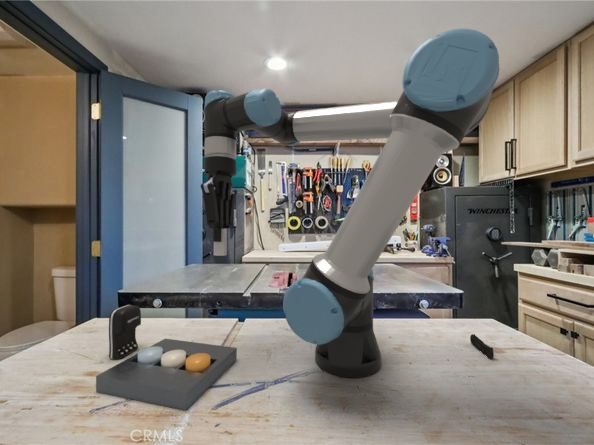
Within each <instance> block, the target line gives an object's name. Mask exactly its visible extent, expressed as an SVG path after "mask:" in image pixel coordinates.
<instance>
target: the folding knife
mask: <svg viewBox="0 0 594 445" xmlns="http://www.w3.org/2000/svg"><path fill="white" fill-rule="evenodd" d="M469 338H470V340H469V341H470V344H471V345H472V346H473V347H474V348H475V349H477V350H478V351H479V352H480V351H481V352H482V353H481V352H480V353H481V354H483V355H484V356H485V355H486V356H487V357H488V358H487V357H486V356H485V357H486V358H487V359H490V360H492V359H494V356H495V353H494V348H493V347H491V346H490V345H488V344H486V343H485V342H484V341H482V339H480V338H479V337H478V336H476V334H475V333H473V334H471V335H470V337H469Z"/></svg>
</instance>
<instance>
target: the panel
mask: <svg viewBox="0 0 594 445" xmlns="http://www.w3.org/2000/svg"><path fill="white" fill-rule="evenodd" d="M155 346H157V347H162V348H163V354H164V353H166V352H168V351H172V350H184V351H185V352H186V359H187V358H188V357H189V356H191V355H193V354H197V353H207V354H209V355H210V367H209V368H207V369H206V370H205V371H204V372H203V373H197V372H191V371H186V362H185V363H183V364H182V365H180V366H179V367H178V368H176V369H173V368H167V367H161V359H160V360H158V361H156V362H155V363H153V364H152V365H149V364H143V363H138V353H136V354H134V355H132V356H131V357H128V358H126V359H124V360H123V361H121V362H119V363H117V364H115V365H114V366H112V367H110V368H109V369H106V370H104V371H103V372H100V373H99V374H97V375H96V377H95V392H96V393H100V394H104V395H109V396H114V397H118V398H123V399H129V400H132V401H139V402H142V403H143V402H144V403H148V404H153V405H156V406H157V405H158V406H162V407H167V408H172V409H175V410H182V411H188V410H189V409H190V408H191V406H192V405H193V404H194V403H196V402H197V401H198V400H199V398H201V396H203V395H204V393H206V392H207V391H208V390H209V389H210V388H211V387H212V386H213V385H214V384H215V383H216V382H217V381H218V380H219V379H220V378H221V377H222V376H223V375H224V374H225V373H226V372H227V371H228V370H229V369H230V368H231V367H232V366H233V365H234V364H235V363H236V362H237V361H238V360H237V358H238V357H237V353H238V352H237V350H238V349H237V348H238V347H235V346H234V347H232V346H227V345H226V346H225V345H219V344H218V345H217V344H210V343H202V342H196V341H195V342H194V341H188V340H180V339H179V340H178V339H172V338H164V339H162V340H160V341H158V342H156V343H154V344H152V345H150V346H149V347H155Z"/></svg>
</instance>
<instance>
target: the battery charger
mask: <svg viewBox="0 0 594 445" xmlns="http://www.w3.org/2000/svg"><path fill="white" fill-rule="evenodd" d="M141 324H142V313H141V308H140V307H139V306H138V305H132V304H126V305H124V306H120V307H117V308H116V309H113V310H112V311H111V312H110V314H109V319H108V343H109V344H108V345H109V346H108V348H109V349H108V350H109V352H108V353H109V354H108V358H109V359H112V360H113V359H114V360H115V359H122V358H125V357H127V356H128V355H130V354H131V353H133V352H135V351H137V350H138V348H139V346H138V345H139V344H138V342H137V338H136V337H137V336H136V330H137V327H139V326H141Z"/></svg>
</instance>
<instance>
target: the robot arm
mask: <svg viewBox="0 0 594 445" xmlns="http://www.w3.org/2000/svg"><path fill="white" fill-rule="evenodd" d="M499 56H500V55H499V51H498V49H497V46H496V45H495V43H494V41H493V40H492V39H491V38H490V37H489V36H488V35H486V34H485V33H483V32H481V31H478V30H476V29H472V28H471V29H470V28H454V29H453V28H452V29H449V30H446V31H442V32H441V33H439V34H437V35H435V36H432V37H429V39H427V40H425V41H424V42H423V43H422V44H420V45H419V46H418V47H417V48H416V49H415V50H414V51H413V52H412V54H411V55H410V56H409V58H408V60H407V63H406V65H405V67H404V71H403V76H402V82H401V84H402V89H403V91H402V93H401V95H400V97H399V99H398V100H397V99H396V100H388V101H386V100H385V101H378V102H377V101H376V102H370V103H369V102H367V103H362V104H361V103H360V104H352V105H341V106H334V107H333V106H332V107H326V108H325V107H324V108H323V107H322V108H314V109H305V110H298V111H285V110H283V108H282V104H281V102H280V99H279V97H277V95H276V93H275V91H273V90H272V89H270V88H268V87H267V88H260V89H254V90H253V89H252V90H250V91H249V92H246V93H243V94H240V95H236V96H235V95H234V94H233V93H231V92H230V91H226V90H222V89H220V90H212V91H209V92H208V93H207V94H206V96H205V98H204V108H203V114H204V117H203V118H204V157H205V158H204V161H203V162H204V164H203V168H204V170H203V171H204V174H205V175H208V176H207V179H206V180H207V182H205V183H201V184H200V189H201V191H202V194H203V201H204V209H205V216H206V224H207V226H208V228H209V229H213V230H212V231H213V232H212V233H213V238H212V240H213V256H217V257H218V256H219V257H221V256H223V257H224V256H227V255H228V253H227V251H228V247H227V246H228V241H227V240H228V238H227V237H228V229H231V228H232V225H233V220H234V211H235V203H236V198H237V194H238V190H237V189H234V188H233V181H232V177H234V176H235V175H237V161H236V159H237V133H240V132H244V131H249V130H253V131H255V132H257V133H259V134H262V135H264V136H265V137H268V138H270V139H272V140H273V141H276V142H277V143H279V144H281V145H284V146H287V147H294V146H297V145H298V144H299V143H302V142H325V141H349V140H353V141H354V140H374V139H376V140H377V139H387V140H386V142H385V144H384V145H383V148H382V149H381V151H380V153H379V155H378V156H377V158H376V160H375V162H374V164H373V165H372V167H371V169H370V171H369V173H368V174H367V176H366V179H365V180H364V182H363V184H362V186H361V188H360V189H359V191H358V193H357V195H356V197H355V198H354V200H353V203H352V204H351V206H350V207H349V209H348V210H347V213H346V215H345V217H344V218H343V220H342V222H341V224H340V226H339V227H338V229H337V231H336V233H335V235H334V237H333V239H332V240H331V242H330V244H329V246H328V247H327V249H326V251H325V252H323V253H320V254H316V255H315V256H314V257H313V258H312V260H311V262H310V264H309V265H308V267H307V269H306V271H305V273H304V275H303V276H302V278H300V279H296V280H295V281H294V282H293V283H291V284H290V286H288V288H287V289H286V291H285V292H284V295H283V300H282V302H283V303H282V309H283V314H284V315H285V320H286V323H287V325H288V326H289V328H290V329H291V331H292V332H293V333H294V334H295V335H296V336H297V337H298V338H299V339H301V340H303V341H304V342H306V343H308V344H312V345H316V346H315V349H314V350H315V351H314V352H315V353H314V360H315V363H316V365H317V366H318V367H319V368H320V369H321V370H323V371H324V372H326V373H329V374H331V375H335V376H339V377H343V378H344V377H345V378H364V376H365V377H368V375H369V376H372V375H375V374H376V373H377V372H379V370H381V368H382V352H381V350H380V347H379V343H378V340H377V337H376V334H375V330H374V280H375V278H374V273H373V271H374V270H373V268H374V266H376V263H377V261H378V259H379V258H380V256H381V255H382V254H383V251H384V250H385V249H386V247H387V245H388V244H389V243H390V240H391V238H392V236H393V235H394V234H395V232H396V231H397V229H398V227H399V225H400V224H401V222H402V220H403V219H404V217H405V215H406V214H407V213H408V210H409V209H410V207H411V205H412V204H413V203H414V200H415V199H416V197H417V196H418V194H419V192H420V191H421V189H422V187H423V186H424V185H425V182H426V181H427V179H428V177H429V176H430V174H431V173H432V171H433V169H434V168H435V165H436V164H437V163H438V161H439V160H440V158H441V157H442V155H443V154H444V153H447V152H451V151H453V150H455V149H458V148H459V147H460V145H461V143H462V141H463V140H464V138H465V137H466V136H467V135H468V134H469V133H471V132H472V131H473V130H474V129H475V128H477V127H478V126H479V125H480V123H482V121H483V119H484V118H485V116H486V114H487V113H488V112H487V111H488V109H489V105H490V101H491V97H492V94H493V90H494V86H495V84H496V83H497V81H498V79H499V74H500V57H499ZM380 367H381V368H380ZM375 372H376V373H375ZM371 374H372V375H371Z"/></svg>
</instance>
